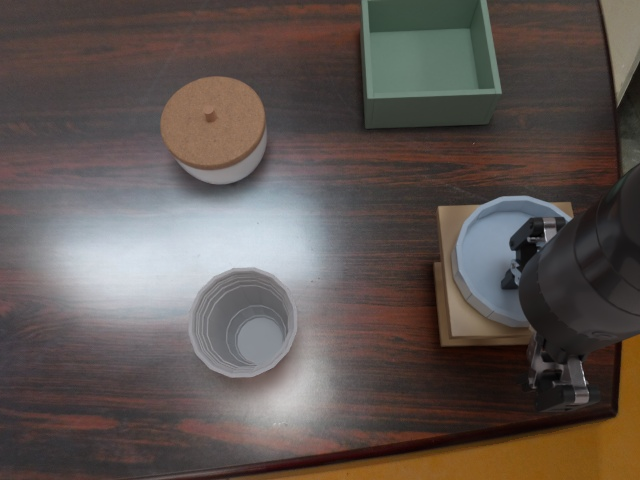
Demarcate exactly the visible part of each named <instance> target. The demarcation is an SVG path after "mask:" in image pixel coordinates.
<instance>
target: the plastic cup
mask: <svg viewBox="0 0 640 480" xmlns="http://www.w3.org/2000/svg"><path fill="white" fill-rule="evenodd" d="M297 332H298V307H297V304H296V302H295V300H294V298H293V296H292V293H291V291H290V288H289V287H287V286H286V285H285V284H284V283H283V282H282V281H281V280H280V279H279V278H278V277H277V276H276V275H275V274H274V273H270V272H268V271H265V270H263V269H260V268H257V267H253V266H252V267H233V268H230V269H227V270H226V271H223V272H221V273H219V274H217V275H214V276H212V278H211V279H210V280H209V281H207V282H206V284H204V286H203V287H202V288H200V289H199V290H198V292H197V293H196V296H195V298H194V300H193V302H192V305H191V307H190V309H189V311H188V331H187V334H188V336H189V341H190V342H191V345H192V348H193V350H194V353H195V355H196V356H197V357H198V358H199V359H200V360H201V361H202V362H203V363H204V364H205V366H207V367H208V369H209V370H211V371H214V372H216V373H219V374H222V375H223V376H225V377H228V378H253V377H256V376H258V375H260V374H263V373H265V372H267V371H269V370H271V369H273V368H275V367H276V366H277V365H278V363H279V362H280V361H281V360H282V359H283V358H284V357H285V356H286V355H287V354H288V353H289V352H290V350H291V348H292V345H293V342H294V340H295V337H296V334H297Z"/></svg>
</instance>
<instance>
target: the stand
mask: <svg viewBox="0 0 640 480" xmlns="http://www.w3.org/2000/svg"><path fill="white" fill-rule="evenodd" d="M550 203H551V205H552V204H553V205H555V206H556V207H557V208H559V209H560V210H561V211H563V212H564V213H565V214H567V215H568V216H569V217H571V218H572V219H573V218H574V217H575V216H574V211H573V207H572V202H571V201H558V202H550ZM480 205H481V204H465V205H464V204H461V205H459V204H458V205H437V208H436V211H435V218H436V228H437V237H438V239H437V240H438V246H439V247H438V248H439V257H440V261H434V262H433V264H432V271H433V272H432V273H433V282H434V292H435V302H436V312H437V314H436V315H437V323H438V332H439V333H438V335H439V343H440V347H441V348H444V347H446V348H447V347H484V346H485V347H486V346H487V347H488V346H528V344H529V340H530V335H531V332H530V330H529V327H510V326H507V325H505V324H502V323H499V322H496V321H493V320H491V319H488V318H486V317H485V316H483V315H482V314H481V313H480V312H479V311H478V310H476V309H475V308H474V307H473V306H472V305H470V304H469V303H468V302H467V301H466V300H465V298H464V296H463V294H462V293H461V291H460V289H459V287H458V285H457V284H456V282H455V280H454V278H453V270H452V261H451V252H452V249H453V246H454V243H455V240H456V237H457V234H458V232H459V230H460V228H461V226H462V224H463V223H464V221H465V220H466V219H467V218H468V217H469V216H470V215H471V214H472V213H473V212H474V211H475V210H476V209H477V208H478V207H479V206H480Z"/></svg>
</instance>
